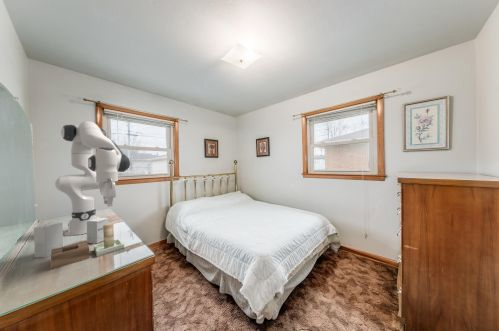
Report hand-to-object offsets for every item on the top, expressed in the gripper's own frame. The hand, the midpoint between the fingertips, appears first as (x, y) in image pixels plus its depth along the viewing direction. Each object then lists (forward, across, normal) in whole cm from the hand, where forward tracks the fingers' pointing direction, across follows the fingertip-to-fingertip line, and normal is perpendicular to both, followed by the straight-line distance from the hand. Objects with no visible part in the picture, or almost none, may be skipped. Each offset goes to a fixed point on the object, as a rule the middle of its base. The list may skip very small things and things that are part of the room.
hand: (108, 204), depth 92 cm
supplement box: (+24, +20, +2) cm, 31 cm away
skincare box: (+24, +19, +21) cm, 37 cm away
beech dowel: (+22, 0, 0) cm, 22 cm away
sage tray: (+23, 0, 0) cm, 23 cm away
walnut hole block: (+23, +2, +14) cm, 27 cm away
